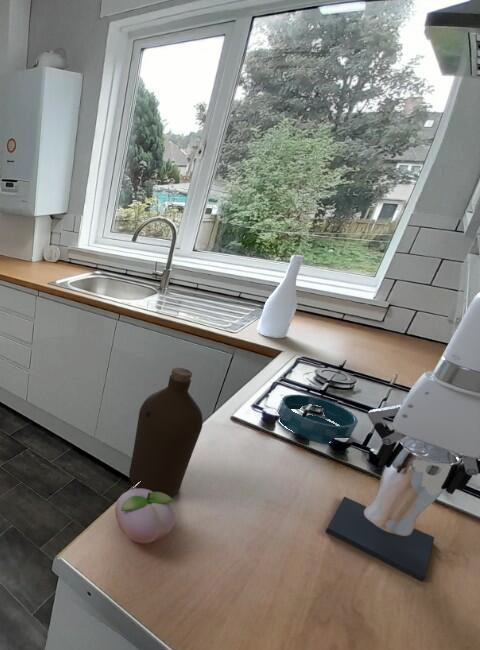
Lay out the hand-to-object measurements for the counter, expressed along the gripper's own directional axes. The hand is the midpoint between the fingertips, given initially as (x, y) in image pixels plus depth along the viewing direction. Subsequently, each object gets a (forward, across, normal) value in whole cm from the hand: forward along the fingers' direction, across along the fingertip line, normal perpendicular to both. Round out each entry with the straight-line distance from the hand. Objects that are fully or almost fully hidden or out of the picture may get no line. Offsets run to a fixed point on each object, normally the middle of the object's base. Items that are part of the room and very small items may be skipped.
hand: (414, 474), depth 65 cm
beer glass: (+10, 0, 0) cm, 10 cm away
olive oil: (+14, +31, +18) cm, 38 cm away
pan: (+14, +17, -31) cm, 38 cm away
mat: (+14, 0, 0) cm, 14 cm away
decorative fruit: (+14, +26, +33) cm, 44 cm away
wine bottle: (+14, +45, -95) cm, 106 cm away
